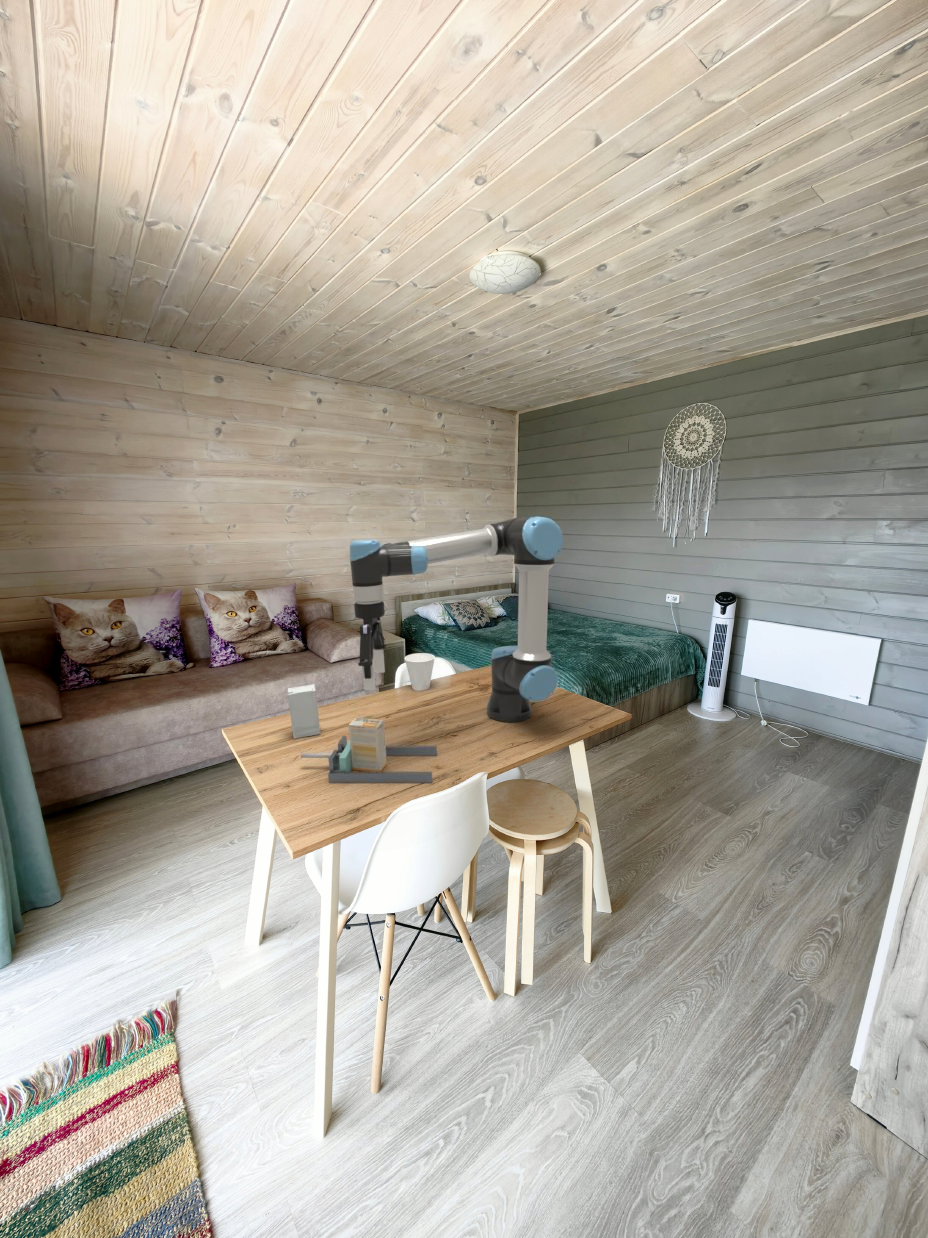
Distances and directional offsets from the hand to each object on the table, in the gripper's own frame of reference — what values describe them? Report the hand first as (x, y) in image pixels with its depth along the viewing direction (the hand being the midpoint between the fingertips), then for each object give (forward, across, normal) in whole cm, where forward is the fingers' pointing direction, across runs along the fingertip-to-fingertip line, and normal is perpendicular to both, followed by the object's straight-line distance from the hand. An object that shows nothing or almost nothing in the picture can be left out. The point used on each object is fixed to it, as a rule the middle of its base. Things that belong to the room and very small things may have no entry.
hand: (375, 680), depth 126 cm
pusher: (+22, +3, -14) cm, 26 cm away
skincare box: (+23, -18, -27) cm, 39 cm away
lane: (+23, +4, +2) cm, 23 cm away
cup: (+24, -58, +5) cm, 63 cm away
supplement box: (+23, +4, -2) cm, 24 cm away
